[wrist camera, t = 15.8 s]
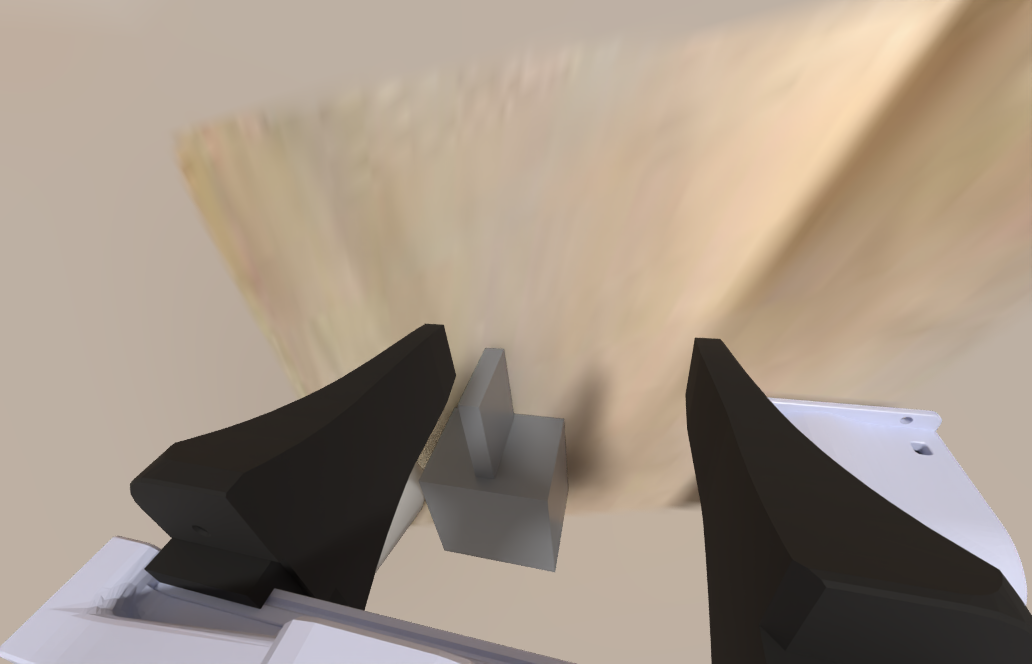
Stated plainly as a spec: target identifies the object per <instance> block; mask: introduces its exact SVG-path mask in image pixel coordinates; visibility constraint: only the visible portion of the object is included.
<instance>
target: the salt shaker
mask: <svg viewBox="0 0 1032 664" xmlns="http://www.w3.org/2000/svg"><path fill="white" fill-rule="evenodd" d="M423 471H424V470H423V469H422V468H421V467H420V465H419V464H418V463H417V462H416V463H415V465H414V468H413V470H412V472H411V474H410V476H409V479H408V481H407V484H406V486H405V489H404V491H403V494H402V497H401V499H400V502H399V504H398V507H397V510H396V512H395V515H394V518H393V521H392V524H391V526H390V529H389V532H388V535H387V538H386V541H385V544H384V547H383V550H382V553H381V556H380V559H379V562H378V565H377V569H376V572H377V570H378V569H379V567H380V566H381V565H382V563H383V562H384V561H385V559H386V558H387V556H388V555H389V554H390V552H391V551H392V549H393V548H394V547H395V545H396V544H397V542H398V541H399V540H400V538H401V537H402V535H403V534H404V533H405V531H406V530H407V529H408V527H409V526H410V524H411V523H412V522H413V520H414V519H415V517H416V516H417V515H418V513H419V512H420V510H421V509H422V507H423V503H424V498H425V497H424V495H423V492H422V489H421V487H420V484H419V479H420V477H421V475H422V473H423ZM376 572H375V573H376Z"/></svg>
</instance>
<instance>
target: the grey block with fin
mask: <svg viewBox="0 0 1032 664" xmlns="http://www.w3.org/2000/svg"><path fill="white" fill-rule="evenodd" d="M419 484H420V487H421V489H422V492H423V495H424V497H425V500H426V503H427V505H428V508H429V511H430V513H431V516H432V518H433V521H434V524H435V526H436V529H437V532H438V534H439V537H440V540H441V542H442V545H443V548H444V550H446V551H451V552H456V553H461V554H466V555H471V556H476V557H481V558H486V559H491V560H496V561H501V562H506V563H512V564H517V565H521V566H526V567H532V568H537V569H542V570H547V571H552V572H555V569H556V563H557V557H558V550H559V545H560V538H561V532H562V526H563V520H564V514H565V507H566V501H567V495H568V478H567V460H566V443H565V425H564V419H560V418H550V417H541V416H531V415H521V414H514V412H513V406H512V399H511V392H510V386H509V379H508V373H507V366H506V359H505V353H504V349H496V348H485V350H484V352H483V354H482V356H481V358H480V360H479V362H478V364H477V366H476V368H475V370H474V372H473V374H472V376H471V378H470V380H469V382H468V384H467V386H466V388H465V391H464V393H463V395H462V397H461V399H460V401H459V403H458V408H454V410H453V412H452V414H451V416H450V418H449V420H448V422H447V424H446V426H445V428H444V430H443V432H442V434H441V436H440V438H439V440H438V442H437V444H436V446H435V448H434V450H433V452H432V454H431V456H430V458H429V461H428V463H427V465H426V467H425V469H424V471H423V473H422V475H421V477H420V479H419Z"/></svg>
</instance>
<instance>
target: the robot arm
mask: <svg viewBox="0 0 1032 664" xmlns="http://www.w3.org/2000/svg"><path fill="white" fill-rule="evenodd" d="M455 377H456V373H455V369H454V365H453V361H452V357H451V353H450V349H449V345H448V340H447V336H446V332H445V328H444V325H438V324H425V325H423V326H421V327H419V328H418V329H416V330H415V331H413V332H411V333H410V334H408V335H407V336H405V337H404V338H402V339H401V340H399V341H398V342H397V343H395V344H394V345H392V346H391V347H389V348H388V349H386V350H385V351H383V352H382V353H380V354H379V355H377V356H376V357H374V358H373V359H371V360H370V361H368V362H366V363H365V364H363V365H361V366H360V367H358V368H357V369H355V370H353V371H352V372H350V373H348V374H347V375H345V376H344V377H342V378H340V379H338V380H337V381H335V382H333V383H331V384H329V385H327V386H326V387H324V388H322V389H320V390H318V391H316V392H314V393H312V394H310V395H308V396H306V397H304V398H301V399H299V400H297V401H294V402H292V403H290V404H288V405H285V406H283V407H281V408H278V409H276V410H274V411H272V412H269V413H267V414H264V415H261V416H259V417H256V418H253V419H251V420H248V421H245V422H242V423H240V424H236V425H234V426H231V427H228V428H225V429H221V430H218V431H215V432H211V433H208V434H205V435H201V436H198V437H194V438H191V439H187V440H184V441H180V442H177V443H174V444H173V445H172V446H170V447H169V448H168V449H167V450H166V451H165V452H164V453H163V454H162V455H161V456H159V457H158V458H157V459H156V460H155V461H154V462H153V463H152V464H150V465H149V466H148V467H147V468H146V469H145V470H144V471H143V472H141V473H140V474H139V475H138V476H137V477H136V478H135V479H134V480H133V481H132V482H131V483H130V491H131V495H132V497H133V499H134V501H135V502H136V503H137V504H138V505H139V506H140V508H141V509H142V510H143V511H144V512H145V513H146V514H148V515H149V516H150V517H151V518H152V519H153V520H154V521H155V522H156V523H157V524H158V525H159V526H160V527H161V528H162V529H163V530H164V531H165V532H166V533H167V534H168V535H169V536H170V537H172V539H171V540H170V541H169V542H168V543H167V544H166V545H165V546H164V548H163V549H162V550H161V549H160V548H158V547H156V546H155V545H152V544H150V543H147V542H143V541H138V540H134V539H130V538H125V537H122V536H116V537H113V538H112V539H111V540H110V541H109V542H107V544H106V545H104V546H103V547H102V549H100V550H99V551H98V552H97V553H96V554H95V555H94V556H93V557H92V558H91V559H90V560H89V561H88V562H87V563H86V564H85V565H84V566H83V567H82V568H81V569H80V570H79V571H78V572H77V573H76V574H74V576H73V577H72V578H70V579H69V580H68V581H67V582H66V583H65V584H64V585H63V586H62V587H61V588H60V589H59V590H58V591H57V592H56V593H55V594H54V595H53V596H52V597H51V598H50V599H49V600H48V601H47V602H46V603H45V604H44V605H43V606H41V607H40V608H39V609H38V611H36V612H35V613H34V614H33V615H32V616H31V617H30V618H29V619H28V620H27V621H26V622H25V623H24V624H23V625H22V626H21V627H20V628H19V629H18V630H17V631H16V632H15V633H14V634H13V635H11V636H10V638H8V639H7V640H6V641H5V642H4V643H3V644H2V645H1V646H0V657H1V658H3V659H6V660H8V661H10V662H12V663H14V664H576V663H571V662H568V661H563V660H560V659H556V658H552V657H548V656H544V655H540V654H536V653H532V652H527V651H523V650H519V649H516V648H512V647H507V646H504V645H500V644H496V643H492V642H488V641H484V640H480V639H476V638H472V637H467V636H463V635H459V634H456V633H452V632H448V631H444V630H439V629H435V628H432V627H428V626H424V625H420V624H415V623H412V622H407V621H404V620H400V619H396V618H391V617H387V616H383V615H379V614H375V613H371V612H367V611H364V610H365V606H366V603H367V599H368V596H369V593H370V589H371V586H372V582H373V579H374V575H375V572H376V569H377V565H378V562H379V559H380V556H381V553H382V550H383V547H384V544H385V541H386V538H387V535H388V532H389V529H390V526H391V524H392V521H393V518H394V515H395V512H396V510H397V507H398V504H399V502H400V499H401V497H402V494H403V491H404V489H405V486H406V484H407V481H408V479H409V476H410V474H411V472H412V470H413V468H414V465H415V463H416V461H417V459H418V457H419V456H420V454H421V452H422V450H423V448H424V446H425V444H426V442H427V440H428V438H429V436H430V435H431V433H432V431H433V429H434V427H435V425H436V423H437V421H438V419H439V417H440V415H441V413H442V411H443V409H444V407H445V405H446V403H447V400H448V398H449V395H450V392H451V389H452V386H453V383H454V380H455ZM686 416H687V430H688V436H689V441H690V447H691V453H692V458H693V463H694V469H695V474H696V480H697V485H698V491H699V496H700V502H701V509H702V515H703V525H704V537H705V552H706V564H707V565H706V566H707V582H708V596H709V597H708V598H709V615H710V616H709V617H710V636H711V657H712V664H1032V615H1031V614H1030V612H1029V610H1028V609H1027V607H1026V603H1027V585H1026V579H1025V574H1024V570H1023V567H1022V563H1021V560H1020V558H1019V555H1018V552H1017V550H1016V547H1015V545H1014V543H1013V541H1012V540H1011V537H1010V535H1009V534H1008V533H1007V531H1006V529H1005V528H1004V526H1003V525H1002V523H1001V522H1000V521H999V519H998V518H997V517H996V515H995V514H994V512H993V511H992V509H991V508H990V506H989V505H988V504H987V502H986V501H985V500H984V498H983V497H982V495H981V494H980V492H978V490H977V488H976V487H975V485H974V484H973V483H972V481H971V480H970V478H969V477H968V476H967V474H966V473H965V471H964V470H963V469H962V467H961V466H960V464H959V463H958V462H957V460H956V459H955V458H954V456H953V455H952V453H951V452H950V450H949V449H948V448H947V446H946V445H945V444H944V442H943V441H942V439H941V438H940V437H939V435H938V434H937V432H936V430H937V429H938V427H939V426H940V424H941V422H942V419H941V417H940V416H939V415H938V413H936V412H934V411H927V410H915V409H903V408H891V407H879V406H866V405H854V404H842V403H829V402H817V401H805V400H793V399H780V398H768V397H767V396H766V395H765V394H764V393H763V392H762V391H761V389H760V388H759V387H758V386H757V385H756V384H755V383H754V381H753V380H752V379H751V378H750V377H749V375H748V374H747V373H746V372H745V370H744V369H743V368H742V366H741V365H740V364H739V363H738V361H737V360H736V359H735V357H734V356H733V355H732V353H731V352H730V351H729V349H728V348H727V347H726V345H725V344H724V343H723V342H722V340H721V339H710V338H695V341H694V347H693V353H692V359H691V365H690V371H689V377H688V383H687V389H686ZM904 417H906V418H904Z"/></svg>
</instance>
